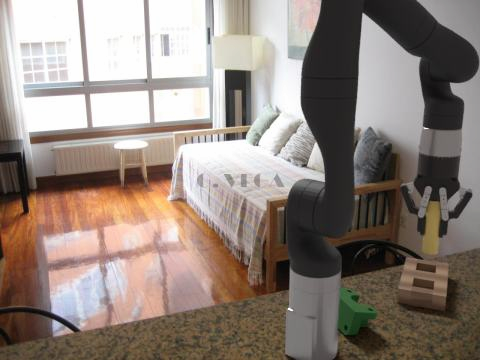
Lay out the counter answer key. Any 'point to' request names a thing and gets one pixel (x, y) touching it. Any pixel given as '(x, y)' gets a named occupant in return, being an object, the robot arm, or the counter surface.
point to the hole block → (423, 284)
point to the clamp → (353, 312)
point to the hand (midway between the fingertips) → (431, 234)
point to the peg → (432, 228)
